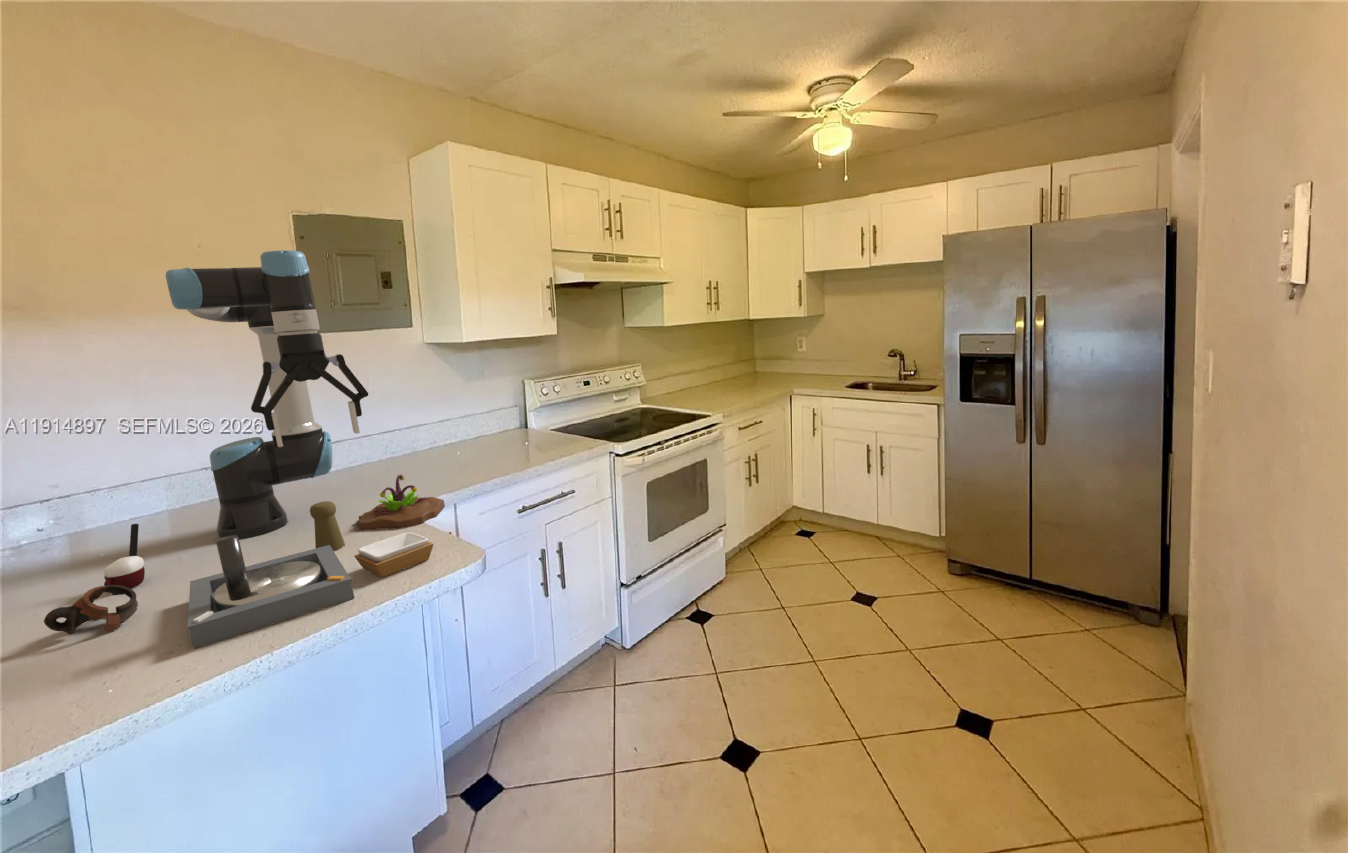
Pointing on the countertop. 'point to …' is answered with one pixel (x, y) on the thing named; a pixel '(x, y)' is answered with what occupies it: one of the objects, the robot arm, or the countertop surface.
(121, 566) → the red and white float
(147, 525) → the countertop surface
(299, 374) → the robot arm
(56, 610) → the brown split ring clamp
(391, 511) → the plant
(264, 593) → the dial
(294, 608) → the tray
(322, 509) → the cork
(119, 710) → the countertop surface
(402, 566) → the soap dish
